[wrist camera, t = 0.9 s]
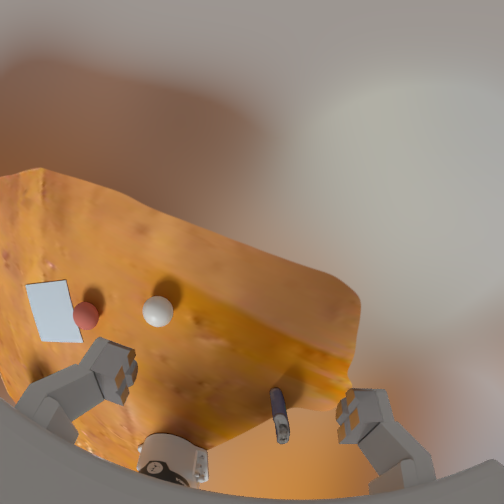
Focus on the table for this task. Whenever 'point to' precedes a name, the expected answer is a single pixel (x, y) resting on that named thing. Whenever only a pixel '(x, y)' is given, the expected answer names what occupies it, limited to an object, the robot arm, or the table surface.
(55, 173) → the table surface
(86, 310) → the object ball
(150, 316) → the cue ball
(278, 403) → the flask
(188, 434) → the table surface
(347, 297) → the table surface
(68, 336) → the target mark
